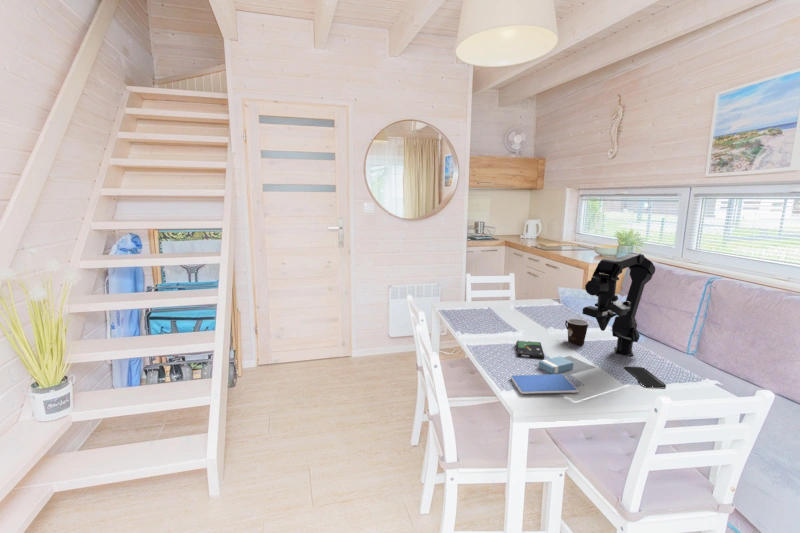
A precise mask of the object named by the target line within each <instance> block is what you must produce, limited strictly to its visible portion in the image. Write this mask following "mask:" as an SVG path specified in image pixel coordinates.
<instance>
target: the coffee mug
mask: <svg viewBox="0 0 800 533" xmlns="http://www.w3.org/2000/svg"><path fill="white" fill-rule="evenodd" d="M564 324H565V328H566V330H567V342H568V343H570V344H572V345H575V346H577V347H581V346H584V345H585V340H586V335H587V332H588V328H589V322H588V321H586V320H584V319H579V318H569V319H566V320H565V323H564Z"/></svg>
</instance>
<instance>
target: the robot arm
mask: <svg viewBox="0 0 800 533" xmlns="http://www.w3.org/2000/svg"><path fill="white" fill-rule="evenodd" d="M624 269H629V277H630V279H631V281H630V282H631V283H630V286H629V290H628V293H627V296H626V299H625V301H621V300H619V296H618V295H616V289H617V281H620V278H619V276H620V275H621V274H622V273H623V270H624ZM655 272H656V266H655V264H654V263H653V262H652V261H651V260H649V259H648V258H647V257H645V255H644V254H643V253H640V252H629V253H628V254H625V255H622V256H620V257H616V258H602V259H601V260H600V261H599V262H598V264H597V266H596V268H595V269H594V271H593V273H592V277H590V280H588V281H587V282H586V283H585V286H584V287H585V291H586V293H587V294H588V295H590V296H596V297H597V303H594V306H592V305H589V306H585V307H583V308H582V311H581V312H582V315H585V316H588V317H591V318H595V319H596V321H597V324H598V327H599V329H600V331H602V332H604V331H606V329H607V327H608V324H609V322H610V321H611V319H612V318H614V321H613V323H612V326H611V332H612V336H613V337H615V338H617V339H616V340H617V341H616V346H614V350H615V353H616V354H620V355H624V356H625V355H626V356H634V352H633V346H634V345H633V344H634V343H638V342H639V340H640V337H641V335H640V333H639V332H638V329H637V328H638V323H637V320H636V314H637V312H638V311H637V310H638V308H639V305H640V301H641V298H642V294H643V292H644V289H645V286H646V284H647V283H648V282H650V281H652V278H653V276H654V274H655Z"/></svg>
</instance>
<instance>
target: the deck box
mask: <svg viewBox="0 0 800 533" xmlns="http://www.w3.org/2000/svg"><path fill="white" fill-rule="evenodd" d="M538 363H539V369H540V368H541V369H540V370H542V369H543V372H546V373H547V374H555V373H559V372H563V371H567V370H571V369H573V363H574V362H571V361H569V360H567V359H565V358H563V357H562V356H561V355H558V356H556V357H551V358H547V359H541V360H539V362H538Z"/></svg>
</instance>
